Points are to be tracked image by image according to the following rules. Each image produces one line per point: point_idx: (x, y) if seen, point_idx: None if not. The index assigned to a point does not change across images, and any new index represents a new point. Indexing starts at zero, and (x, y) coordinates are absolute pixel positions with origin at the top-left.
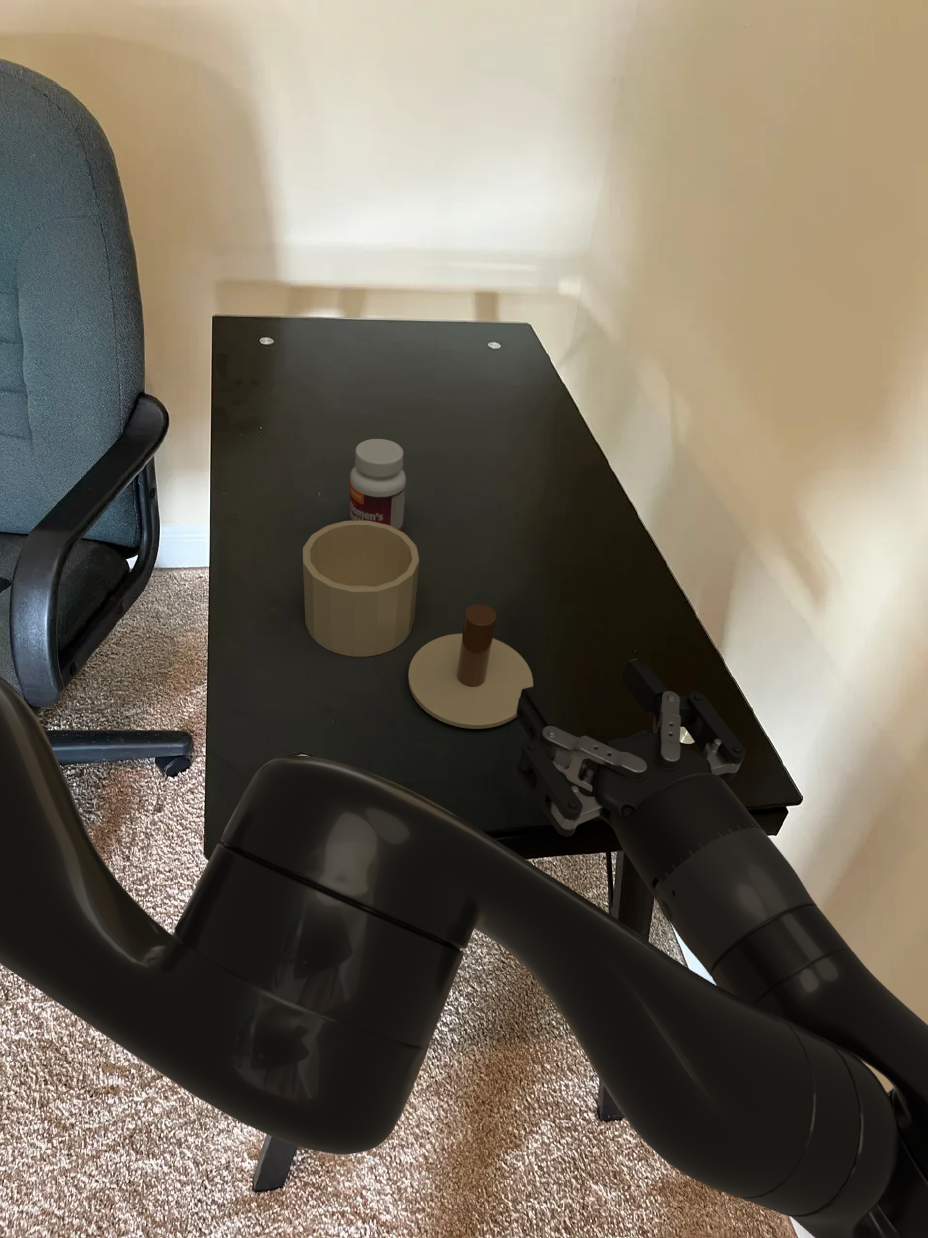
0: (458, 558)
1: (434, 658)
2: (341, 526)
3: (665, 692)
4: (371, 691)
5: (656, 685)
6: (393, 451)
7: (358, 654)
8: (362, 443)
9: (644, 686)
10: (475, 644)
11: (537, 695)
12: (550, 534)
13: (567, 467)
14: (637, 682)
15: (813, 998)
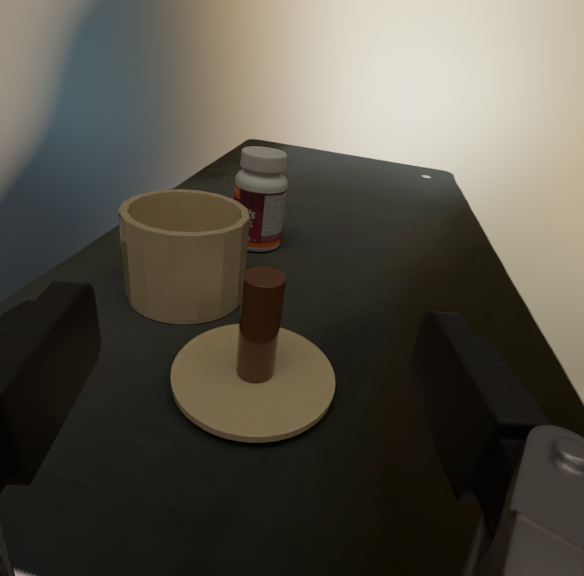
0: (320, 273)
1: (226, 340)
2: (190, 192)
3: (544, 428)
4: (136, 355)
5: (508, 395)
6: (276, 154)
7: (154, 317)
8: (253, 146)
9: (461, 390)
10: (249, 316)
11: (64, 301)
12: (424, 278)
13: (460, 241)
14: (443, 378)
15: None
